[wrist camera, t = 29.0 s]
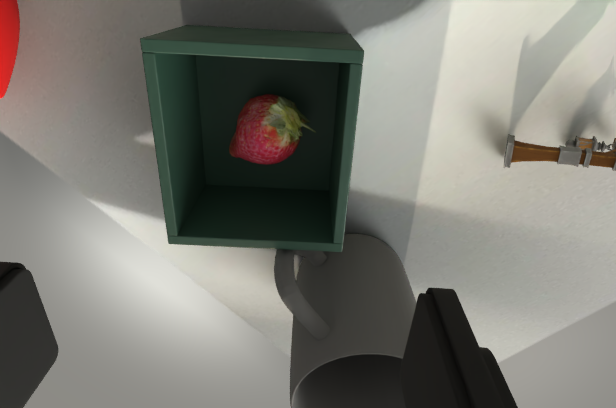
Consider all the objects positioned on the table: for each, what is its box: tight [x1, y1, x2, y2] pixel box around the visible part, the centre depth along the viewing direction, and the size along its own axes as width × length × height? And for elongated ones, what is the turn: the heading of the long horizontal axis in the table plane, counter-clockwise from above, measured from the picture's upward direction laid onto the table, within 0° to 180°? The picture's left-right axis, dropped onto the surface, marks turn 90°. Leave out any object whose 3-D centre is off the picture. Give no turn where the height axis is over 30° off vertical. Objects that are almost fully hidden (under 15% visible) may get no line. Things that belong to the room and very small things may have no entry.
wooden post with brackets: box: [504, 135, 616, 171], centre depth 27 cm, size 2×8×4 cm, turn 94°
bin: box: [140, 25, 364, 252], centre depth 24 cm, size 11×10×8 cm
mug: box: [274, 233, 417, 408], centre depth 28 cm, size 14×9×12 cm
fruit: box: [229, 94, 316, 165], centre depth 25 cm, size 4×6×5 cm
